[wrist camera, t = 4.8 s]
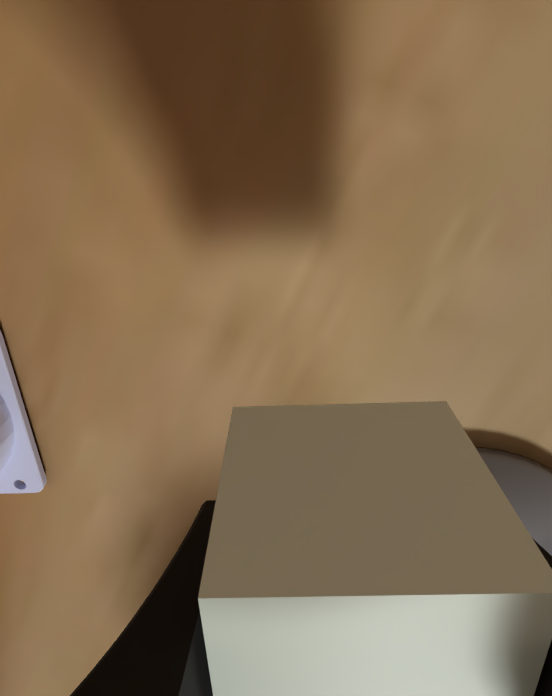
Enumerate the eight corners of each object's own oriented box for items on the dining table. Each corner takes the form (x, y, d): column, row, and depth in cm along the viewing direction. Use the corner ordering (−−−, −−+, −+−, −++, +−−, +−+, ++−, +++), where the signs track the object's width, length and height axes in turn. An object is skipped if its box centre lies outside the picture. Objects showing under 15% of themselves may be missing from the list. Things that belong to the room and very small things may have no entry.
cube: (246, 559, 13) (227, 787, 8) (232, 406, 11) (197, 598, 6) (425, 556, 13) (505, 785, 8) (446, 401, 11) (566, 592, 6)
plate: (300, 657, 26) (301, 672, 25) (295, 450, 20) (296, 462, 19) (557, 654, 25) (565, 670, 24) (627, 443, 19) (641, 454, 19)
